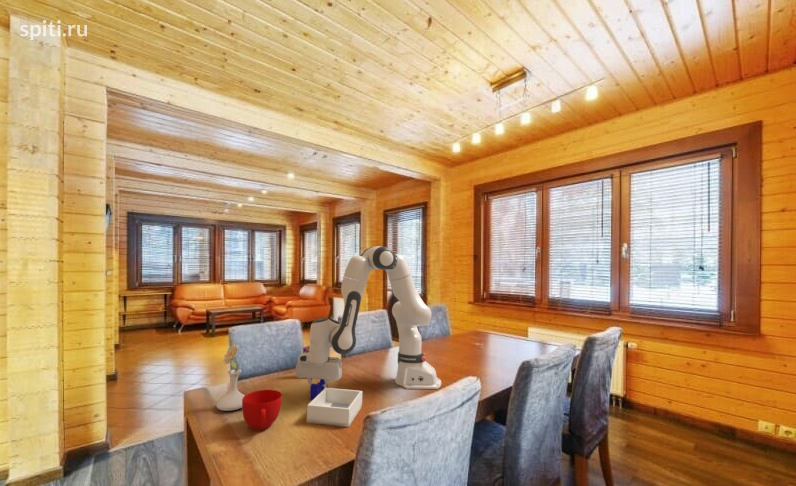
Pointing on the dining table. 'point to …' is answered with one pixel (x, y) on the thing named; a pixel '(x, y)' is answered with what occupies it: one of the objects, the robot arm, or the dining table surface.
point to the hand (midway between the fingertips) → (318, 388)
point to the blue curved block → (316, 389)
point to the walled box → (334, 407)
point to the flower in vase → (233, 396)
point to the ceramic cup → (261, 408)
